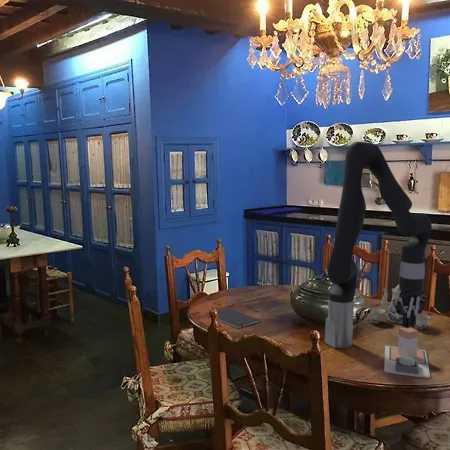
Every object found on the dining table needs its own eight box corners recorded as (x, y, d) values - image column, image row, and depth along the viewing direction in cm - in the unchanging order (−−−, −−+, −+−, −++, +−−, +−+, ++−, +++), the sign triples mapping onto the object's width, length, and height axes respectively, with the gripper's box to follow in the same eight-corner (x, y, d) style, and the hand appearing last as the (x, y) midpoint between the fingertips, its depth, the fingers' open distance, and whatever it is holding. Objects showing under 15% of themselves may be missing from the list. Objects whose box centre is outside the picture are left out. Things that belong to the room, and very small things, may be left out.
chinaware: (361, 328, 213) (362, 291, 209) (364, 312, 228) (365, 277, 224) (433, 336, 204) (436, 297, 200) (431, 319, 219) (434, 283, 215)
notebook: (260, 323, 216) (227, 310, 232) (260, 319, 216) (227, 307, 232) (237, 329, 208) (205, 316, 224) (237, 326, 208) (205, 313, 224)
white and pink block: (406, 358, 176) (408, 332, 175) (397, 354, 180) (399, 328, 179) (416, 356, 178) (418, 330, 177) (407, 352, 182) (408, 326, 181)
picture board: (430, 378, 163) (430, 370, 163) (384, 372, 167) (384, 364, 167) (425, 351, 184) (426, 345, 184) (385, 347, 188) (385, 340, 188)
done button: (415, 368, 165) (415, 363, 165) (398, 366, 167) (399, 361, 167) (414, 362, 170) (414, 357, 170) (398, 360, 172) (399, 355, 171)
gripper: (404, 280, 158) (401, 333, 160) (436, 275, 164) (433, 327, 166) (387, 274, 165) (384, 326, 167) (419, 270, 170) (416, 320, 173)
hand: (409, 326), depth 167 cm, fingers closed
